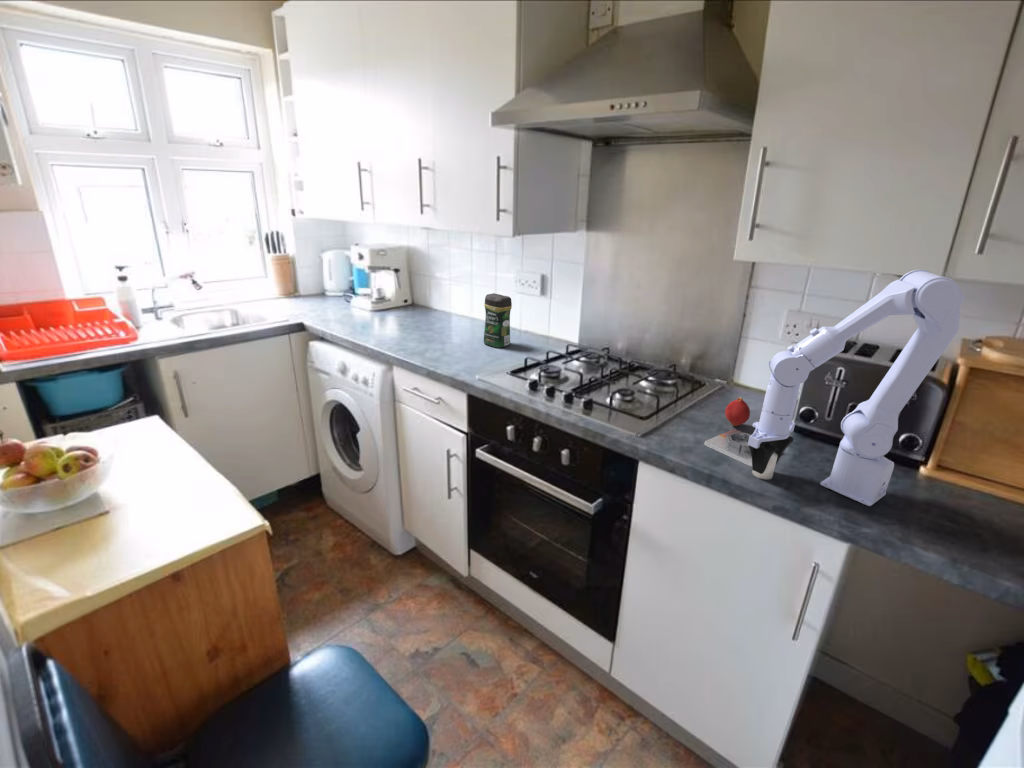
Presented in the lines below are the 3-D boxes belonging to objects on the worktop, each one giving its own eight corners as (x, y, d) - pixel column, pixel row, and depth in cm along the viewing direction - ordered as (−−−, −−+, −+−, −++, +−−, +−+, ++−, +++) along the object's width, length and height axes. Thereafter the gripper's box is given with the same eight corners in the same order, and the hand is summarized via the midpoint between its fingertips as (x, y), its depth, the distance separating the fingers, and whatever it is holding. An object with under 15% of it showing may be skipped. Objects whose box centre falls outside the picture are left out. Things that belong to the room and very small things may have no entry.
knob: (758, 467, 114) (763, 446, 112) (776, 475, 111) (781, 454, 109) (748, 472, 111) (753, 451, 110) (766, 481, 108) (771, 459, 107)
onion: (727, 419, 137) (732, 390, 134) (749, 425, 134) (756, 397, 131) (719, 426, 133) (725, 397, 130) (742, 433, 129) (749, 403, 127)
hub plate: (779, 452, 121) (782, 442, 120) (751, 466, 114) (753, 456, 113) (732, 432, 130) (734, 423, 129) (704, 444, 123) (705, 435, 122)
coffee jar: (479, 343, 191) (480, 293, 185) (494, 339, 197) (496, 290, 190) (498, 349, 186) (500, 298, 179) (513, 345, 191) (515, 295, 184)
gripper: (777, 396, 113) (763, 451, 118) (739, 410, 104) (727, 469, 109) (810, 407, 107) (794, 465, 112) (773, 423, 99) (758, 485, 104)
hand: (763, 468), depth 111 cm, fingers closed on knob, 4 cm apart
